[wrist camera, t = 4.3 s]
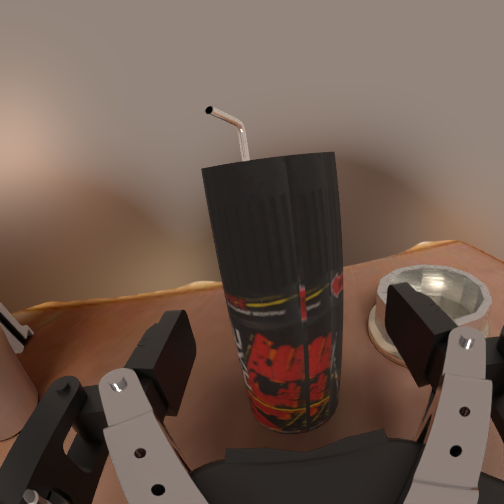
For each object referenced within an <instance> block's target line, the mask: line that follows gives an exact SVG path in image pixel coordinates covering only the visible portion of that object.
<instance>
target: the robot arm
mask: <svg viewBox="0 0 504 504" xmlns="http://www.w3.org/2000/svg"><path fill="white" fill-rule="evenodd" d="M385 328H386V332H387V334H388V335H389V337H390V339H391V340H392V342H393V344H394V345H395V347H396V349H397V350H398V352H399V354H400V355H401V357H402V359H403V361H404V362H405V364H406V366H407V367H408V369H409V371H410V373H411V375H412V376H413V378H414V380H415V382H416V384H417V385H418V387H422V386H425V385H428V384H430V385H431V387H432V388H431V391H430V394H429V397H428V400H427V404H426V407H425V410H424V413H423V416H422V419H421V422H420V425H419V428H418V431H417V433H416V436H415V438H414V440H409V439H402V438H387V437H386V434H385V431H384V429H380V430H376V431H372V432H368V433H364V434H360V435H355V436H351V437H347V438H344V439H342V440H339V441H337V442H334V443H332V444H329V445H327V446H324V447H322V448H319V449H316V450H313V451H310V452H296V451H286V450H278V449H270V448H246V449H226V454H225V459H221V460H217V461H214V462H210V463H208V464H205V465H203V466H201V467H198V468H196V469H195V470H192V468H191V467H190V465H189V464H188V463H187V461H186V460H185V458H184V456H183V455H182V453H181V452H180V450H179V448H178V447H177V445H176V443H175V442H174V440H173V438H172V437H171V435H170V433H169V431H168V430H167V428H166V426H165V424H164V423H163V421H164V418H165V416H177V414H178V411H179V407H180V404H181V401H182V398H183V395H184V391H185V388H186V385H187V382H188V379H189V376H190V372H191V369H192V366H193V363H194V360H195V357H196V343H195V339H194V336H193V333H192V329H191V326H190V323H189V319H188V316H187V313H186V311H185V310H173V311H166V312H165V313H164V314H163V316H162V318H161V319H160V321H159V323H155V324H154V325H153V326H151V327H150V328H149V329H148V330H147V331H146V332H145V334H144V335H143V337H142V338H141V340H140V342H139V343H138V345H137V347H136V348H135V350H134V351H133V353H132V355H131V356H130V358H129V360H128V361H127V363H126V365H125V366H124V368H119V369H115V370H113V371H110V372H109V373H107V374H106V375H105V376H104V377H103V378H102V379H101V380H100V383H99V385H93V386H86V387H83V386H82V385H81V383H80V382H79V380H78V379H77V378H76V377H74V376H64V377H61V378H59V379H57V380H56V381H54V382H53V383H52V384H51V386H50V387H49V388H48V390H47V391H46V393H45V394H44V396H43V397H42V399H41V400H40V402H39V403H38V392H37V389H36V387H35V385H34V384H33V382H32V381H31V379H30V378H29V376H28V374H27V373H26V371H25V370H24V368H23V366H22V365H21V363H20V361H19V359H18V358H17V356H16V354H15V352H14V350H13V348H12V347H11V345H10V343H9V341H8V339H7V337H6V335H5V333H4V331H3V329H2V327H1V325H0V440H5V439H8V438H10V437H12V436H14V435H15V434H17V433H18V432H19V431H20V430H21V432H20V434H19V435H18V437H17V439H16V441H15V442H14V444H13V446H12V448H11V449H10V451H9V453H8V455H7V457H6V458H5V460H4V462H3V464H2V466H1V468H0V504H92V501H93V498H94V495H95V491H96V488H97V485H98V482H99V479H100V477H101V474H102V471H103V468H104V465H105V462H106V460H107V457H108V454H109V453H110V456H111V459H112V462H113V465H114V468H115V471H116V473H117V476H118V479H119V481H120V484H121V486H122V489H123V491H124V494H125V496H126V498H127V501H128V503H129V504H504V481H503V480H500V479H498V478H495V477H493V476H490V475H488V474H486V473H483V472H481V468H482V463H483V459H484V454H485V449H486V443H487V437H488V430H489V423H490V417H491V419H492V421H493V423H494V425H495V426H496V428H497V430H498V432H499V434H500V436H501V438H502V441H503V443H504V326H503V328H502V330H501V333H500V336H499V337H490V338H485V337H484V335H483V334H482V333H481V332H480V331H479V330H477V329H475V328H472V327H468V326H461V327H458V325H457V324H456V323H455V322H454V321H453V320H452V319H451V318H450V317H449V316H448V315H447V314H446V313H445V312H444V311H443V310H441V308H440V307H439V306H438V305H436V303H435V302H434V301H433V300H432V299H431V298H430V297H429V296H427V295H425V294H423V293H421V292H417V291H416V290H415V289H414V288H413V287H412V286H411V285H410V284H409V283H408V282H402V283H397V284H391V285H389V286H388V289H387V299H386V310H385ZM37 403H38V405H37ZM71 426H72V427H73V429H74V430H75V431H76V432H77V434H76V436H75V439H74V441H73V443H72V445H71V447H70V449H69V451H68V454H67V456H66V454H65V453H64V450H63V442H64V440H65V438H66V436H67V434H68V432H69V430H70V428H71Z"/></svg>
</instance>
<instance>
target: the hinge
mask: <svg viewBox="0 0 504 504" xmlns="http://www.w3.org/2000/svg"><path fill="white" fill-rule="evenodd" d="M0 325H1V327H2V329H3V331H4V333H5V335H6V337H7V339H8V341H9V343H10V345H11V347H12V348H13V350H14V352H15V353H21V352H22V351H23V349H24V346H23V345H22V342H21V341H20V340H24V339H27V336H31V335H34V332H33V331H32V330H31V329H30V328H29V326H28V325H24V326H21V325H20V324H19V323H18V322H17V321H16V319H15V318H14V317H13V316H12V315H11V314H10V313H9V312H8V311H7V309H6V308H5V307H4V306H3V305H2V304H1V302H0Z"/></svg>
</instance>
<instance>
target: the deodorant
mask: <svg viewBox="0 0 504 504" xmlns="http://www.w3.org/2000/svg"><path fill="white" fill-rule="evenodd" d="M201 170H202V176H203V182H204V188H205V194H206V199H207V205H208V210H209V216H210V221H211V227H212V232H213V238H214V243H215V248H216V253H217V258H218V264H219V269H220V274H221V279H222V283H223V288H224V293H225V298H226V303H227V307H228V312H229V317H230V321H231V326H232V330H233V335H234V339H235V343H236V348H237V352H238V356H239V361H240V365H241V369H242V373H243V378H244V382H245V386H246V390H247V394H248V398H249V402H250V406H251V410H252V412H253V415H254V417H255V418H256V419H257V421H258V422H259V423H260V424H261V425H263V426H264V427H266V428H268V429H269V430H272V431H275V432H279V433H285V434H297V433H303V432H308V431H310V430H313V429H315V428H318V427H319V426H321V425H322V424H324V423H325V422H327V421H328V420H329V419H330V417H331V416H332V415H333V414H334V412H335V410H336V407H337V405H338V397H339V386H340V373H341V357H342V335H343V256H342V233H341V217H340V203H339V191H338V182H337V171H336V162H335V154H334V152H322V153H309V154H298V155H289V156H280V157H271V158H264V159H256V160H249V161H242V162H236V163H230V164H224V165H218V166H213V167H208V168H203V169H201Z"/></svg>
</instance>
